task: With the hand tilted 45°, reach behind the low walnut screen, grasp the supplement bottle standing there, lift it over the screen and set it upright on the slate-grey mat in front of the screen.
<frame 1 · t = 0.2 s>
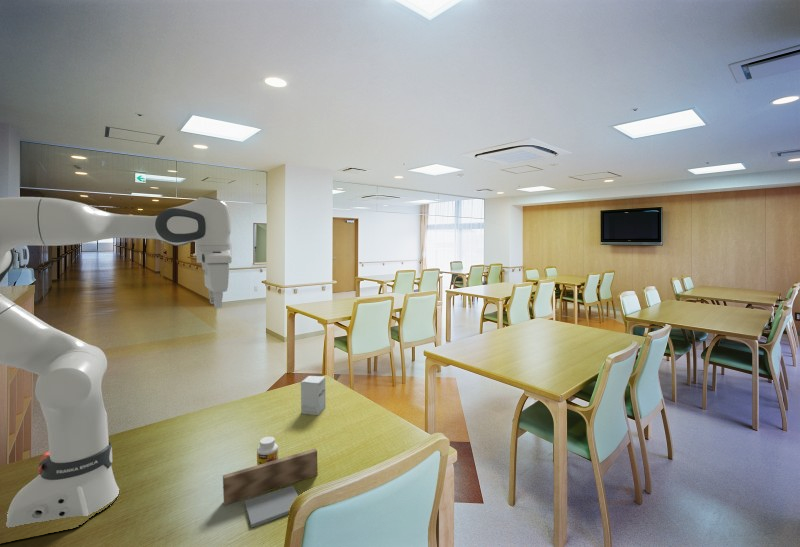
hand: (215, 305, 105), 48 cm above the table, tool pointing down, fingers open, 8 cm apart
grey mat: (273, 506, 92), on the table
supplement box: (313, 410, 146), on the table
supplement bottle: (268, 475, 105), on the table
walnut screen: (273, 487, 100), on the table
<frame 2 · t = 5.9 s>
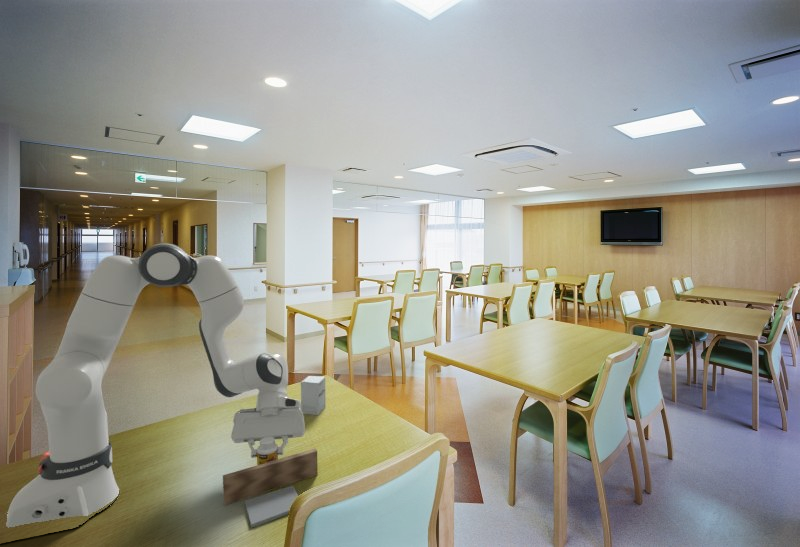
hand: (267, 455, 104), 6 cm above the table, tool tilted 45°, fingers closed on supplement bottle, 6 cm apart
supplement bottle: (268, 475, 105), on the table, touching gripper
everything else where it was.
when the fingers open (12 cm above the table, at t = 11.0 s): supplement bottle drops 3 cm, resting on grey mat.
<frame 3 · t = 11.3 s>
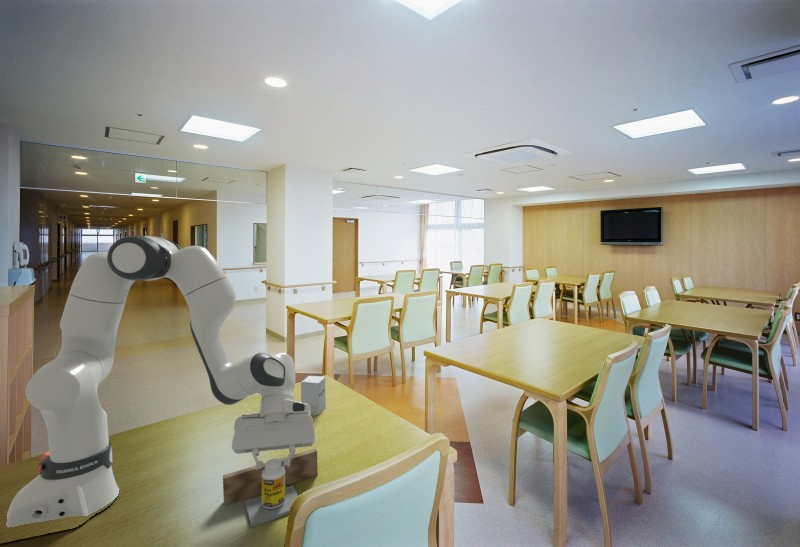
hand: (272, 468, 91), 10 cm above the table, tool tilted 45°, fingers open, 5 cm apart
supplement bottle: (273, 503, 92), point 1 cm above the table, touching grey mat
everything else where it was.
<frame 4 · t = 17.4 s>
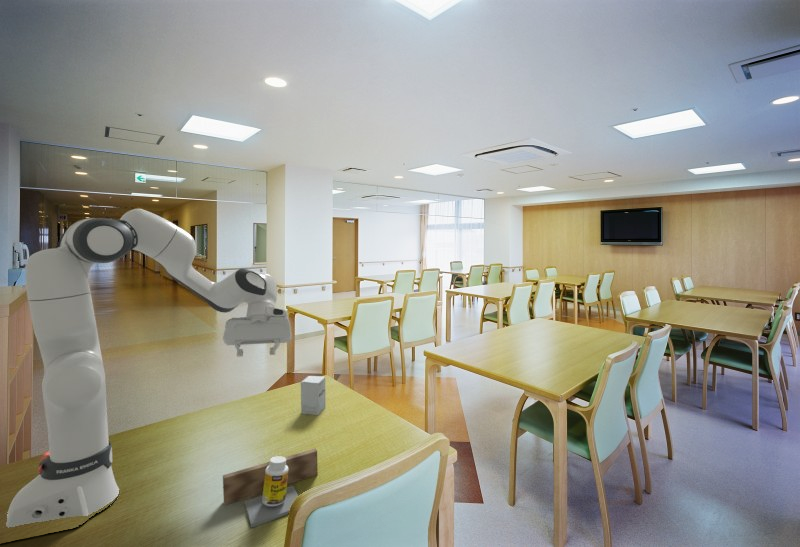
hand: (256, 354, 113), 31 cm above the table, tool tilted 45°, fingers open, 8 cm apart
at the end: supplement bottle inside the target area on the grey mat (0.1 cm from its centre), point 1.0 cm above the grey mat's base; supplement bottle tilted 8°; the gripper is holding nothing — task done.
